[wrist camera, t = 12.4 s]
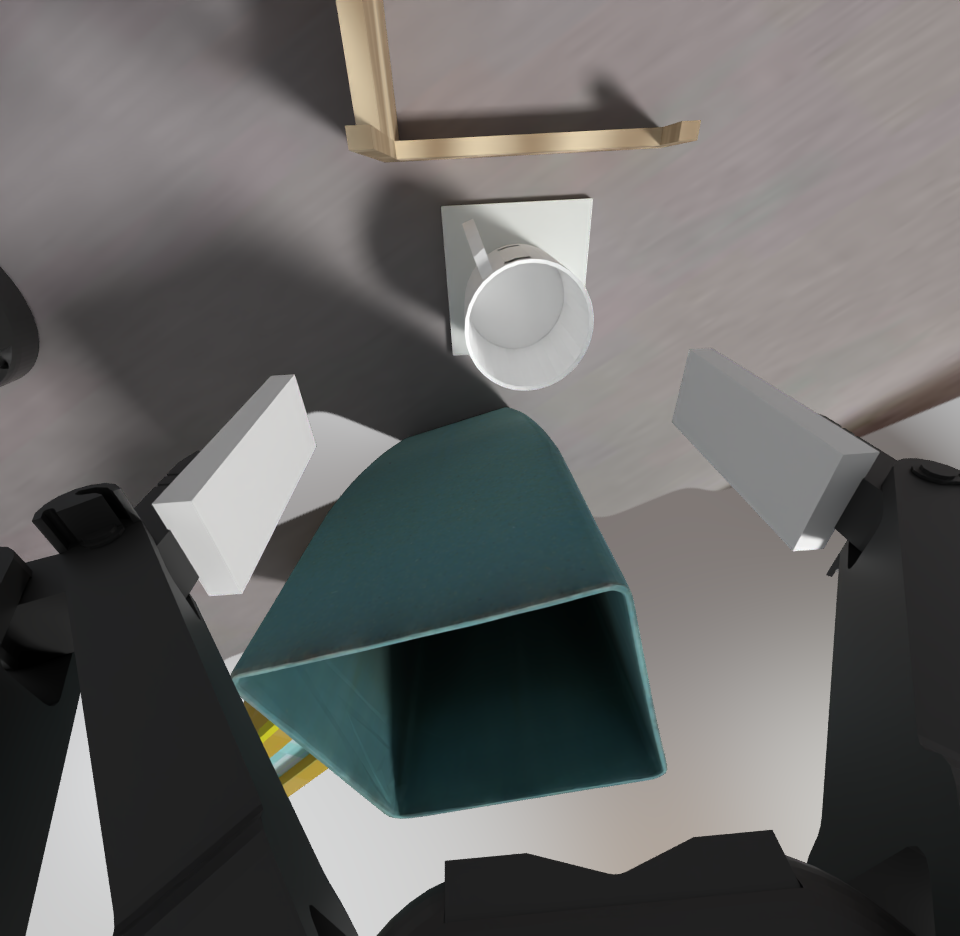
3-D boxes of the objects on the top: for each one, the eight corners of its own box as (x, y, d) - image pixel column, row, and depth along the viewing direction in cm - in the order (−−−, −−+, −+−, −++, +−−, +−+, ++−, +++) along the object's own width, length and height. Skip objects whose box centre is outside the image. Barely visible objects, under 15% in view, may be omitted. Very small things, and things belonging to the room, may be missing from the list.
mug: (578, 327, 39) (607, 362, 31) (488, 366, 40) (494, 408, 33) (535, 182, 32) (558, 180, 25) (431, 235, 34) (421, 249, 26)
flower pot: (348, 417, 44) (214, 685, 20) (534, 355, 41) (632, 585, 17) (423, 548, 54) (392, 823, 31) (575, 507, 51) (669, 776, 28)
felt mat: (453, 353, 40) (453, 355, 40) (441, 206, 34) (440, 206, 33) (578, 346, 40) (579, 348, 40) (590, 198, 34) (592, 198, 33)
